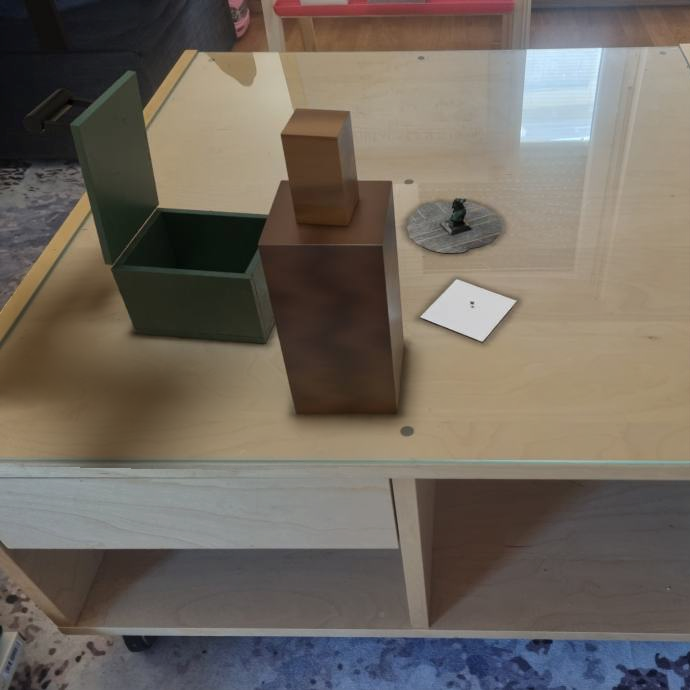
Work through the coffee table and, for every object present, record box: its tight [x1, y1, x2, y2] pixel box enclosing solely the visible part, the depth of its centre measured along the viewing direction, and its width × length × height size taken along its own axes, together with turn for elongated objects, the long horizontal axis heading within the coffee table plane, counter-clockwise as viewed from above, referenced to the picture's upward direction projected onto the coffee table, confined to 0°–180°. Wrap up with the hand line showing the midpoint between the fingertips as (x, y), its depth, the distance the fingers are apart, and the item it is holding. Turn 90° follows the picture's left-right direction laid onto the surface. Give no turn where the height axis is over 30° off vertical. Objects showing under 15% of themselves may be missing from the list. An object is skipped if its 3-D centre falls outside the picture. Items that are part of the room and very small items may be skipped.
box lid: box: [22, 70, 160, 266], centre depth 74 cm, size 15×12×7 cm
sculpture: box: [406, 197, 502, 254], centre depth 97 cm, size 12×9×8 cm
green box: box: [110, 207, 275, 344], centre depth 82 cm, size 15×12×9 cm
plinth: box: [258, 179, 405, 415], centre depth 70 cm, size 10×10×20 cm
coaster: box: [420, 278, 517, 343], centre depth 84 cm, size 8×8×1 cm
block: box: [280, 107, 359, 226], centre depth 60 cm, size 4×4×8 cm
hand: (18, 77), depth 69 cm, fingers open, 13 cm apart
